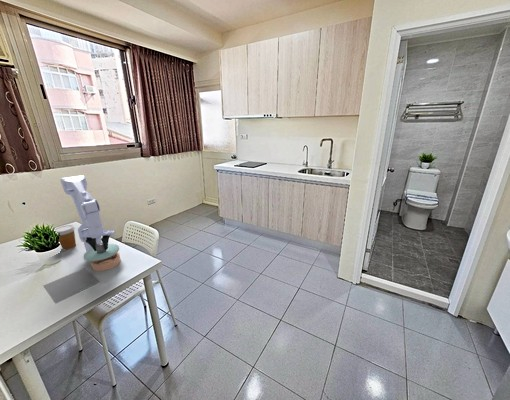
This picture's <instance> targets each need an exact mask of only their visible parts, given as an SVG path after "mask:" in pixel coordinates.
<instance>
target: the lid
mask: <svg viewBox="0 0 510 400" xmlns="http://www.w3.org/2000/svg"><path fill="white" fill-rule="evenodd" d="M95 247H96V251H94V249H93V248H92V249H90V250H88V251H87V252H86V251H85V252H86V253H85V252H84V254H83V256H82V257H83V260H85V261H87V262H91V261H99V260H103V259H106V258H109V257H111V256H113V255H115V254H116V253H117V252H118V253H119V251H120V246H119V245H118V244H115V243H108V249H107V250H105V249H104V245H103V242H102V243H98V244H96V245H95Z"/></svg>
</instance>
